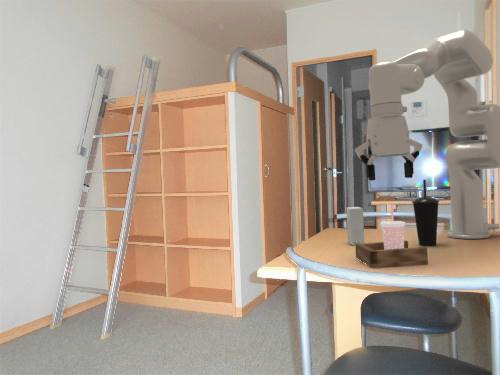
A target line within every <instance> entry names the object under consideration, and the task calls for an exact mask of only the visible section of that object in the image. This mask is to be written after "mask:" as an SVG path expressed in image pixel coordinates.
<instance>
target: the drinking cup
mask: <svg viewBox="0 0 500 375" xmlns="http://www.w3.org/2000/svg"><path fill="white" fill-rule="evenodd" d="M422 180H423V181H422V183H423V184H422V185H423V196H420V197H417V198H415V199H414V200H412V201H411V203H412V206H413V213H414V218H415V220H414V221H415V226H416V233H417V239H418V246H419V247H435V246H437V236H438V218H439V217H438V216H439V202H440V200H439V199H437V198H435V197H432V196H427V182H426V181H427V180H426V179H422Z"/></svg>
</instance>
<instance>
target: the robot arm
mask: <svg viewBox="0 0 500 375" xmlns="http://www.w3.org/2000/svg"><path fill="white" fill-rule="evenodd" d="M492 54H493V53H491V50H490V49H489V47H488V46H487V44H485V43H484V42H483V41H482V39H480V37H478V35H476V34H475V33H474V32H472V31H471V30H469V29H459V30H456V31H454V32H451V33H447V34H443V35H441V36H438V37H435V38H432V39H431V40H429V41H427V42H426V43H425V44H423V45H422V46H420V47H419V48H418V49H416V50H414V51H413V52H412V51H411V52H410V53H408V54H406V55H405V56H402V57H401V58H398V59H397V60H395V61H382V62H379V63H375V64H373V65H372V66H370V68H369V70H368V92H369V98H370V114H371V115H370V116H371V118H368V120H367V125H366V138H365V139H366V142H364V143H363V144H361V145H359V146H357V147H355V149H354V152H355V153H356V156H357V157H358V160H360V161H361V162H362V163H363V164H364V165H365V167H366V168H365V169H366V170H365V171H366V177H367V178H368V181H375V180H376V170H375V169H376V168H375V167H376V166H375V164H374V161H375V160H376V159H377V158H386V157H399V156H400V157H402V159H403V161H405V162H404V163H403V168H404V172H403V173H404V178H405V179H409V178H410V179H412V178H413V175H414V173H415V171H414V162H416V159H417V158H418V157H419V156H420V152H421V150H422V148H423V144H422V143H420V142H418V141H416V140H413V139H411V138H410V130H409V128H408V123H407V119H406V116H405V115H403V114H404V113H407V112H408V107H407V106H403V102H402V101H403V100H402V96H403V95H409V94H412V93H415V92H418V91H419V90H420V89H422V87H423V85H424V82H425V79H427V78H430V77H431V76H434V78H435V79H436V81H437V82H438V84H439V85H440V86H441V87H442V89H443V90H444V92H445V93H446V98H447V103H448V104H447V105H448V107H447V108H448V126H449V131H450V134H451V136H453V137H455V138H468V137H469V138H471V137H479V136H486V138H485V139H477V140H475V139H474V140H473V139H472V140H466V141H465V140H464V141H458V142H455V143H451V144H450V145H448V147H447V148H446V149H445V153H444V154H445V161H446V162H445V163H446V166H447V170H448V175H449V176H448V178H449V188H450V189H449V191H450V193H449V194H450V209H451V210H450V212H451V215H450V216H451V231H448V232H446V235H447V237H449V238H453V239H454V238H455V239H462V240H464V239H465V240H469V239H470V240H473V239H474V240H476V239H477V240H478V239H480V240H481V239H487V238H490V237H491V232H490V231H491V230H499V229H500V224H499V223H488V222H486V221H485V208H484V206H485V205H484V186H483V182H482V179H481V178H480V176H479V175H478V174H477V173H476V172H475V170H476V171H477V170H492V169H499V168H500V105H498V104H496V103H488V104H482V105H479V103H478V93H477V90H476V88H475V87H474V85H472V84H471V83H470V82H469V81H467V80H466V79H469V78H470V79H471V78H473V77H474V78H475V77H478V76H479V77H480V76H482V75H485V74H488V73H489V72H490V71H491V69H492V67H493V65H494V57H493V55H492ZM411 147H413V148H414V149H413V151H412V153H410V152H411ZM365 149H366V155H367V156H366V155H365V154H364V150H365Z"/></svg>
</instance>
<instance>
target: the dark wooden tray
mask: <svg viewBox="0 0 500 375" xmlns="http://www.w3.org/2000/svg"><path fill="white" fill-rule="evenodd" d="M354 246H355V259H356V258H358V259H359V260H361V261H362V262H361V261H360V262H361V263H363V262H364V263H366V264H367V265H369V266H370V267H369V266H368V267H369V268H370V269H376V268H375V267H381V268H395V267H409V266H408V265H411V266H421V265H420V264H425V265H428V264H429V259H428V258H429V257H428V247H427V246H419V247H409V241H408V240H404V248H401V249H386V250H384V242H383V241H379V242H378V241H377V242H365V243H360V244H355V245H354ZM358 259H357V260H358ZM359 260H358V261H359ZM364 263H363V264H364ZM366 264H365V265H366ZM367 265H366V266H367Z"/></svg>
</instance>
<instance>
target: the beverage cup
mask: <svg viewBox="0 0 500 375" xmlns="http://www.w3.org/2000/svg"><path fill="white" fill-rule="evenodd" d="M390 211H391V213H390V214H391V220H387V221H386V220H385V221H381V222H379V223H380V226H381V230H382V231H381V232H382V240H383V241H382V242H384V250H386V249H401V248H404V241H405V227H406V221H402V220H395V218H394V203H393V202H390Z"/></svg>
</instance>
